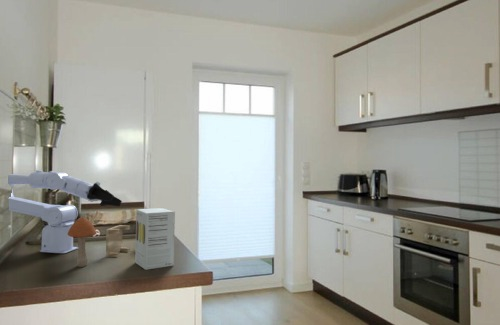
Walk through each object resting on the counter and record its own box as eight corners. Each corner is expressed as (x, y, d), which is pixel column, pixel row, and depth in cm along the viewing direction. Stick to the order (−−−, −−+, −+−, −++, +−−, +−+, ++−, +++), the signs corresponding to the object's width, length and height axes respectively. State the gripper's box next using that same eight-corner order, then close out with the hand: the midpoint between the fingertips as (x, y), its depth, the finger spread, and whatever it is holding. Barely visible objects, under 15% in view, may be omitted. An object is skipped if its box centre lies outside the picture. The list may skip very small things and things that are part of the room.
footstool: (105, 256, 125) (106, 229, 125) (119, 250, 134) (119, 225, 134) (117, 257, 125) (117, 230, 125) (130, 251, 134) (130, 225, 134)
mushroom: (77, 271, 108) (78, 219, 108) (61, 267, 112) (62, 216, 112) (101, 265, 115) (102, 216, 115) (85, 261, 119) (86, 213, 119)
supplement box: (134, 262, 119) (135, 209, 119) (162, 258, 124) (163, 207, 124) (145, 270, 111) (146, 212, 111) (174, 265, 116) (175, 210, 116)
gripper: (76, 171, 126) (113, 184, 124) (95, 184, 139) (128, 195, 137) (66, 191, 123) (103, 204, 122) (86, 201, 137) (120, 213, 135)
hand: (116, 200), depth 129 cm, fingers open, 7 cm apart
